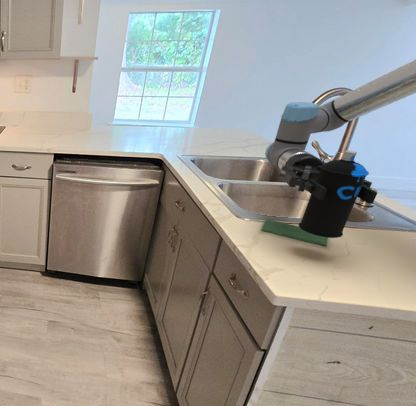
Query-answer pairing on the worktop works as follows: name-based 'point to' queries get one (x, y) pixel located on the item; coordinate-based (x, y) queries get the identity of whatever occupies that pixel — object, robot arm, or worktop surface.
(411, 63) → the robot arm
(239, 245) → the worktop surface
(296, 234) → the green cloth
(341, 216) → the aerosol can
